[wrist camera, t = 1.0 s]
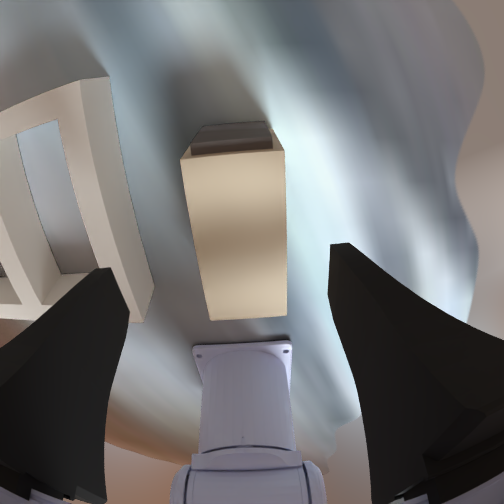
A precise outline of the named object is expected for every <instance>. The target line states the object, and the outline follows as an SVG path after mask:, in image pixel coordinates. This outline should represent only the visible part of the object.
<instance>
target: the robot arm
mask: <svg viewBox="0 0 504 504" xmlns="http://www.w3.org/2000/svg"><path fill="white" fill-rule="evenodd" d="M328 299H329V303H330V308H331V312H332V316H333V320H334V323H335V326H336V329H337V332H338V335H339V337H340V340H341V343H342V346H343V349H344V351H345V354H346V357H347V360H348V363H349V366H350V368H351V371H352V374H353V377H354V381H355V384H356V388H357V392H358V397H359V402H360V407H361V412H362V417H363V424H364V430H365V436H366V443H367V450H368V459H369V468H370V480H371V499H372V504H504V340H502V339H499V338H497V337H494V336H492V335H489V334H487V333H485V332H483V331H481V330H478V329H476V328H473V327H472V326H470V325H468V324H466V323H464V322H462V321H460V320H458V319H456V318H454V317H453V316H451V315H449V314H447V313H445V312H444V311H442V310H440V309H439V308H437V307H435V306H434V305H432V304H431V303H429V302H427V301H426V300H424V299H423V298H421V297H420V296H418V295H417V294H415V293H414V292H412V291H411V290H410V289H408V288H407V287H405V286H404V285H402V284H401V283H400V282H398V281H397V280H396V279H394V278H393V277H392V276H391V275H389V274H388V273H387V272H385V271H384V270H383V269H382V268H380V267H379V266H378V265H377V264H375V263H374V262H373V261H372V260H370V259H369V258H368V257H367V256H365V255H364V254H363V253H362V252H360V251H359V250H358V249H357V248H355V247H354V246H353V245H351V244H350V243H340V244H331V245H330V262H329V280H328ZM129 316H130V310H129V308H128V306H127V304H126V302H125V299H124V297H123V295H122V293H121V290H120V288H119V286H118V283H117V281H116V279H115V276H114V274H113V271H112V269H111V267H107V268H98V269H95V270H93V271H92V272H91V273H89V274H88V275H87V276H85V277H84V278H83V279H82V280H81V281H79V282H78V283H77V284H76V285H75V286H74V287H73V288H71V289H70V290H69V291H68V292H67V293H66V294H65V295H64V296H63V297H61V298H60V299H59V300H58V301H57V302H56V303H55V304H54V305H53V306H52V307H50V308H49V309H48V310H47V311H46V312H45V313H44V314H42V315H41V316H40V317H39V318H38V319H37V320H36V321H35V322H34V323H32V324H31V325H30V326H29V327H28V328H26V329H25V330H24V331H23V332H21V333H20V334H19V335H18V336H16V337H15V338H14V339H12V340H11V341H10V342H8V343H7V344H6V345H4V346H3V347H1V348H0V504H71V503H68V502H65V501H63V498H66V499H69V500H72V501H73V500H74V499H77V500H80V501H84V502H87V503H91V504H104V503H106V502H107V495H106V486H105V474H104V439H105V424H106V415H107V407H108V400H109V396H110V391H111V387H112V383H113V380H114V376H115V373H116V369H117V366H118V363H119V359H120V356H121V352H122V349H123V346H124V342H125V339H126V334H127V328H128V322H129ZM192 353H193V356H194V359H195V362H196V365H197V368H198V371H199V374H200V377H201V380H202V383H203V390H202V404H201V418H200V433H199V450H198V454H192V464H191V465H184V466H183V467H182V468H181V469H180V470H179V471H178V472H177V473H176V474H175V476H174V478H173V481H172V485H171V491H170V504H327V498H326V490H325V485H324V480H323V476H322V473H321V471H320V469H319V468H318V467H317V466H316V465H314V464H313V463H312V462H311V461H302V456H301V451H300V450H298V451H296V443H295V435H294V427H293V419H292V411H291V403H290V379H291V361H292V343H291V342H290V341H288V340H283V341H271V342H257V343H241V344H220V345H196V346H194V347H193V349H192Z"/></svg>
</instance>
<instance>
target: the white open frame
mask: <svg viewBox="0 0 504 504" xmlns="http://www.w3.org/2000/svg"><path fill="white" fill-rule="evenodd" d="M56 119H58V124H59V129H60V134H61V139H62V144H63V148H64V153H65V157H66V161H67V166H68V170H69V174H70V178H71V181H72V185H73V189H74V192H75V196H76V199H77V203H78V206H79V210H80V213H81V216H82V219H83V223H84V226H85V229H86V232H87V235H88V238H89V241H90V244H91V247H92V249H93V252H94V255H95V258H96V260H97V263H98V266H99V268H107V267H111V269H112V271H113V274H114V276H115V279H116V281H117V283H118V286H119V288H120V290H121V293H122V295H123V297H124V299H125V302H126V304H127V306H128V308H129V310H130V316H129V322H128V323H144V320H145V317H146V313H147V310H148V307H149V304H150V301H151V298H152V294H153V291H154V288H155V285H154V282H153V279H152V275H151V272H150V269H149V265H148V262H147V258H146V255H145V251H144V248H143V244H142V240H141V237H140V233H139V229H138V225H137V221H136V217H135V213H134V209H133V205H132V201H131V196H130V192H129V188H128V183H127V179H126V174H125V169H124V164H123V159H122V154H121V149H120V143H119V138H118V132H117V126H116V120H115V114H114V108H113V101H112V94H111V86H110V78H109V77H99V78H90V79H82V80H78V81H75V82H72V83H69V84H66V85H63V86H60V87H57V88H55V89H52V90H50V91H47V92H44V93H42V94H39V95H37V96H35V97H32V98H30V99H27V100H25V101H23V102H21V103H18V104H16V105H14V106H12V107H10V108H8V109H6V110H4V111H1V112H0V262H1V264H2V266H3V268H4V270H5V272H6V274H7V276H8V277H0V318H7V319H21V320H37V319H38V318H39V317H40V316H41V315H42V314H44V313H45V312H46V311H47V310H48V309H49V308H50V307H52V306H53V305H54V304H55V303H56V302H57V301H58V300H59V299H60V298H61V297H63V296H64V295H65V294H66V293H67V292H68V291H69V290H70V289H71V288H73V287H74V286H75V285H76V284H77V283H78V282H79V281H81V280H82V279H83V278H84V277H85V276H87V275H88V274H89V273H78V274H61V273H60V270H59V268H58V266H57V263H56V261H55V259H54V256H53V254H52V251H51V249H50V246H49V244H48V241H47V239H46V236H45V233H44V231H43V228H42V225H41V222H40V219H39V217H38V214H37V211H36V208H35V205H34V202H33V198H32V195H31V192H30V189H29V185H28V182H27V178H26V175H25V171H24V167H23V163H22V159H21V155H20V151H19V147H18V142H17V138H16V134H17V133H20V132H22V131H25V130H28V129H30V128H33V127H36V126H38V125H41V124H44V123H47V122H50V121H53V120H56Z"/></svg>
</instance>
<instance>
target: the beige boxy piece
mask: <svg viewBox="0 0 504 504" xmlns="http://www.w3.org/2000/svg"><path fill="white" fill-rule="evenodd" d="M180 164H181V170H182V176H183V183H184V189H185V195H186V201H187V206H188V212H189V218H190V223H191V229H192V234H193V240H194V245H195V250H196V255H197V260H198V265H199V270H200V275H201V280H202V285H203V290H204V294H205V299H206V304H207V308H208V313H209V317H210V321H214V320H233V319H249V318H263V317H275V316H287V230H286V183H285V152H284V149H283V147H282V145H281V143H280V141H279V140H278V138H277V136H276V134H275V132H274V130H273V129H268V126H267V124H266V122H265V121H255V122H241V123H230V124H219V125H210V126H203V127H202V128H201V129H200V131H199V132H198V133H197V135H196V136H195V138H194V139H193V140H192V142H191V143H190V146H189V147H188V149H187V150H186V152H185V153H184V155H183V156H182V157H181V159H180Z"/></svg>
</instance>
